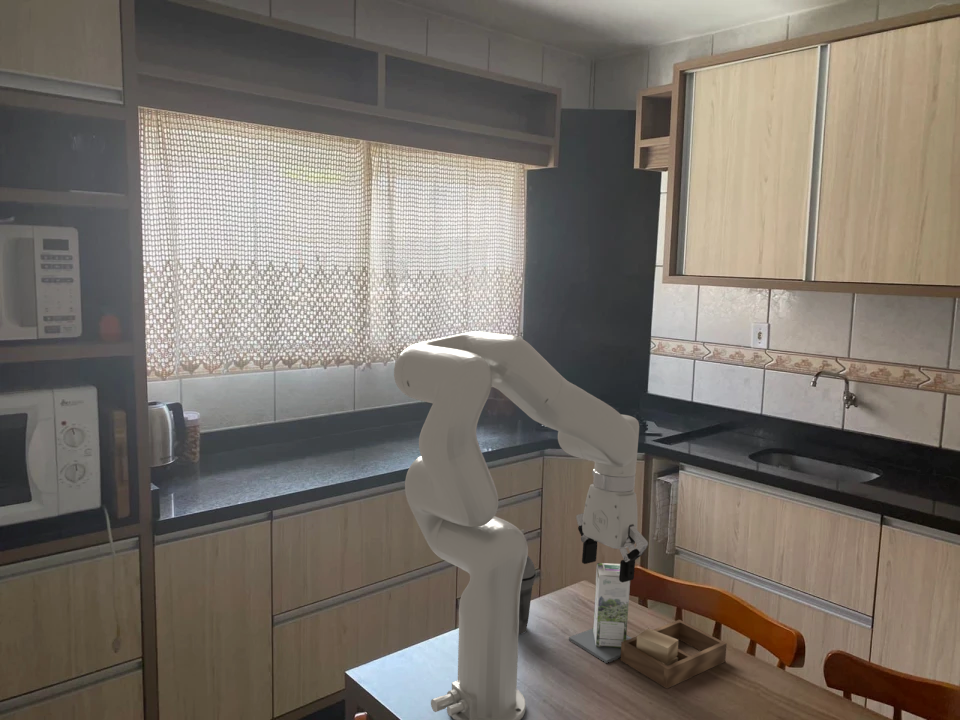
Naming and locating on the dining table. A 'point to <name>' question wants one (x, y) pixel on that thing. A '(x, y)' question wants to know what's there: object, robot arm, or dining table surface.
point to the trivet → (588, 644)
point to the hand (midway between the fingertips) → (607, 571)
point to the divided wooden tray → (687, 664)
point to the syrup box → (610, 606)
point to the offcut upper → (658, 645)
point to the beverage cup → (526, 594)
